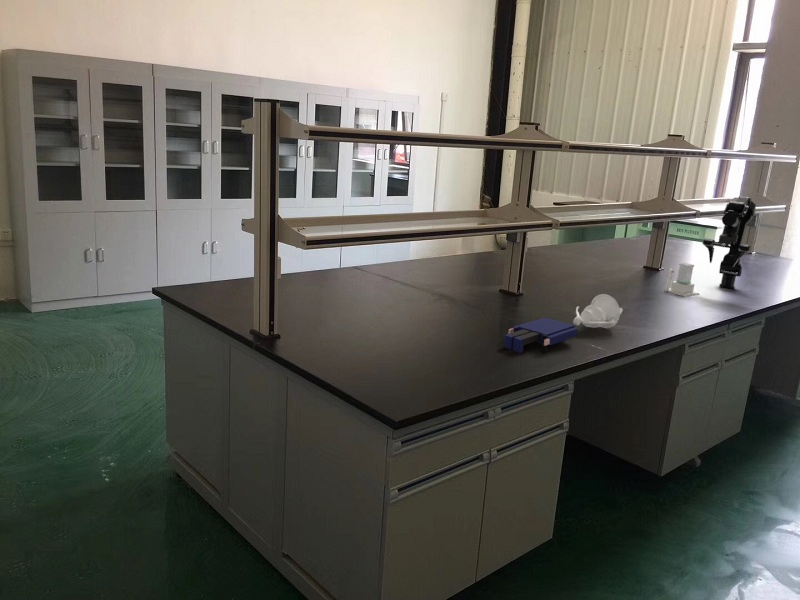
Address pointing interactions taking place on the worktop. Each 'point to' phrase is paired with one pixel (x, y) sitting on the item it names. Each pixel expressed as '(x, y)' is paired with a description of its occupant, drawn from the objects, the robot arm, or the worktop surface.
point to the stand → (679, 287)
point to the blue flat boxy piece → (539, 334)
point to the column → (685, 273)
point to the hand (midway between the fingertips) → (721, 264)
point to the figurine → (599, 313)
